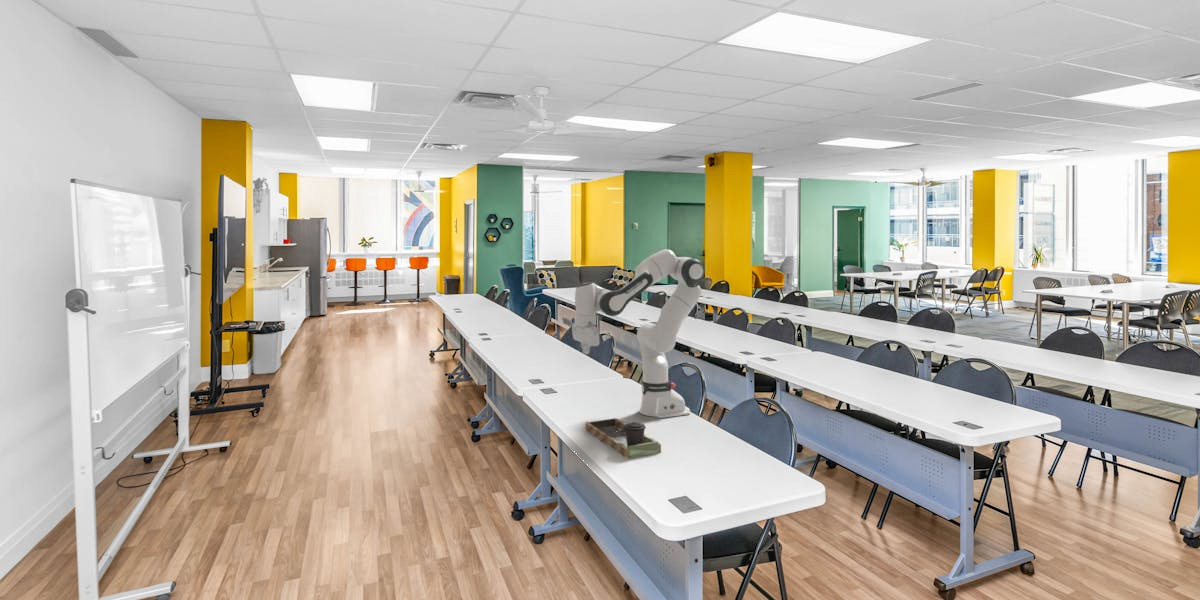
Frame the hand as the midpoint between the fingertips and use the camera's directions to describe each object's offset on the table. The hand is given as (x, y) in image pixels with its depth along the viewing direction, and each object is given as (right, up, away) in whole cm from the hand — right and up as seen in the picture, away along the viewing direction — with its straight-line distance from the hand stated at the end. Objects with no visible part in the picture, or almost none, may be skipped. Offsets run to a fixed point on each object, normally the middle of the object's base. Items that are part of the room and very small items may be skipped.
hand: (585, 353), depth 266 cm
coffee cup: (+19, -33, -33) cm, 51 cm away
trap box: (+14, -32, -22) cm, 41 cm away
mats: (+10, -31, -14) cm, 35 cm away
